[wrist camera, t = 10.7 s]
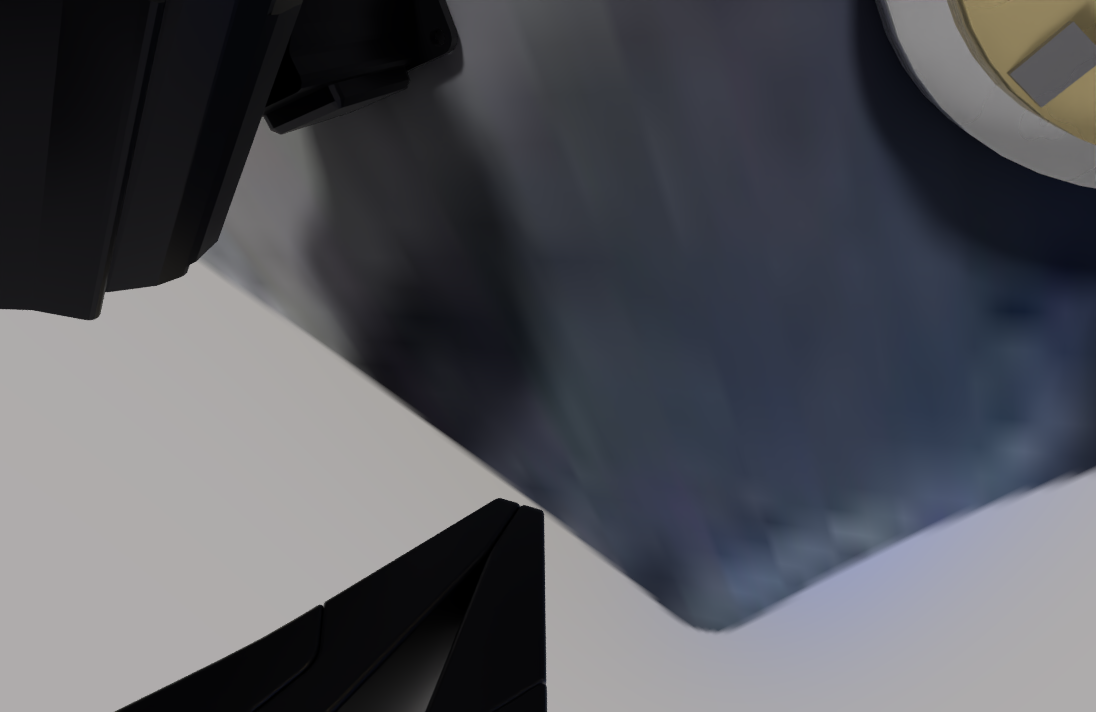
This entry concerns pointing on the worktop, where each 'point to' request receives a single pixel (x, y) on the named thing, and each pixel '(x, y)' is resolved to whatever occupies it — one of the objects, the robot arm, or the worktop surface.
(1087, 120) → the gold dial with handle
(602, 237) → the worktop surface
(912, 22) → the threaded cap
